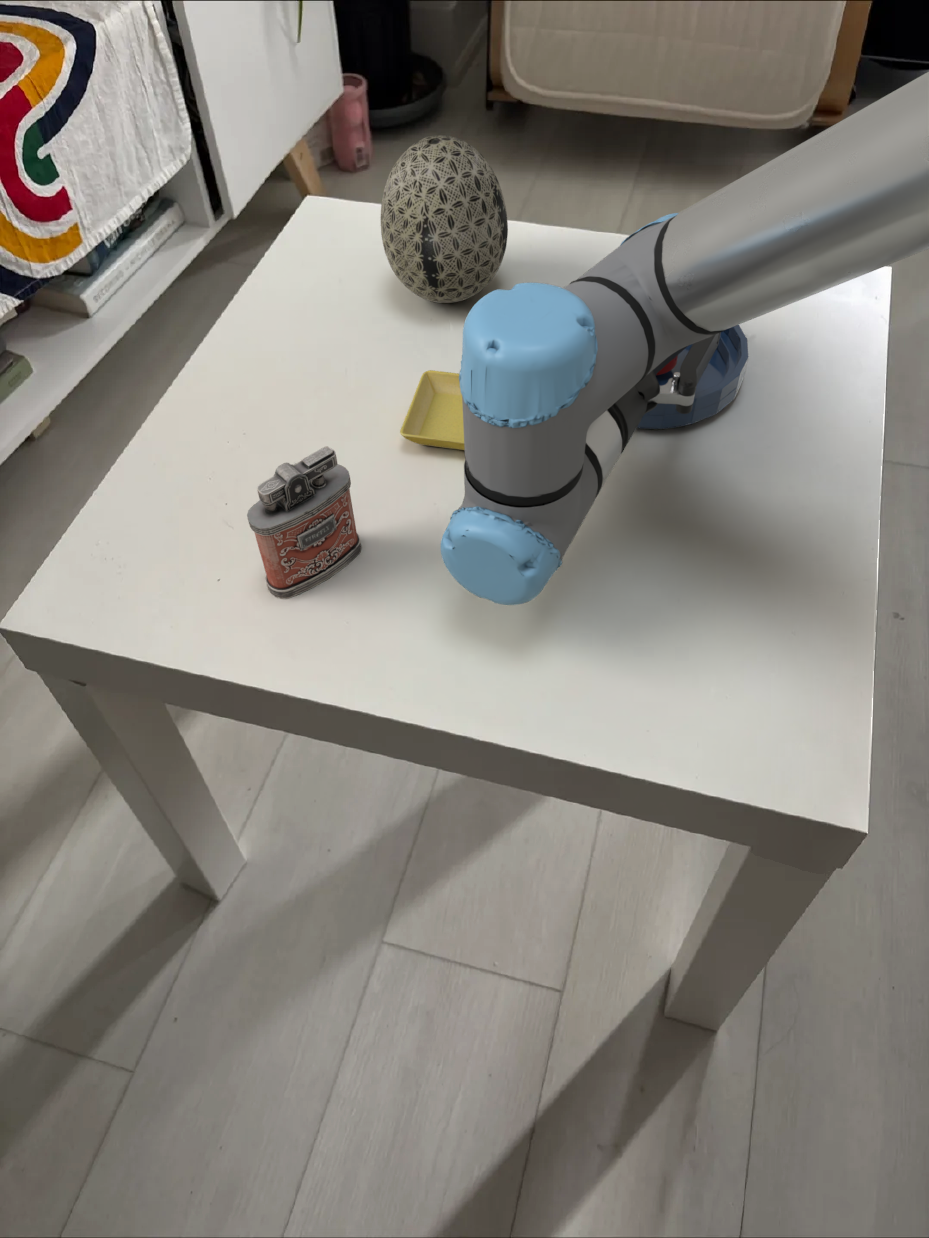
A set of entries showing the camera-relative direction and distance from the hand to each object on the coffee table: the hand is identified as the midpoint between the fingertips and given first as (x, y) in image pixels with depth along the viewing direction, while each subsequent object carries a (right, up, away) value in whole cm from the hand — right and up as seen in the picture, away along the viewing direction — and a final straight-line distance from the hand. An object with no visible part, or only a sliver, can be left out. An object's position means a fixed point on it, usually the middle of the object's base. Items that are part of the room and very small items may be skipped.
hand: (678, 266), depth 83 cm
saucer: (-19, -14, 0) cm, 23 cm away
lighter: (-30, -26, -10) cm, 41 cm away
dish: (-2, -9, +3) cm, 9 cm away
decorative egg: (-20, +1, +12) cm, 23 cm away
